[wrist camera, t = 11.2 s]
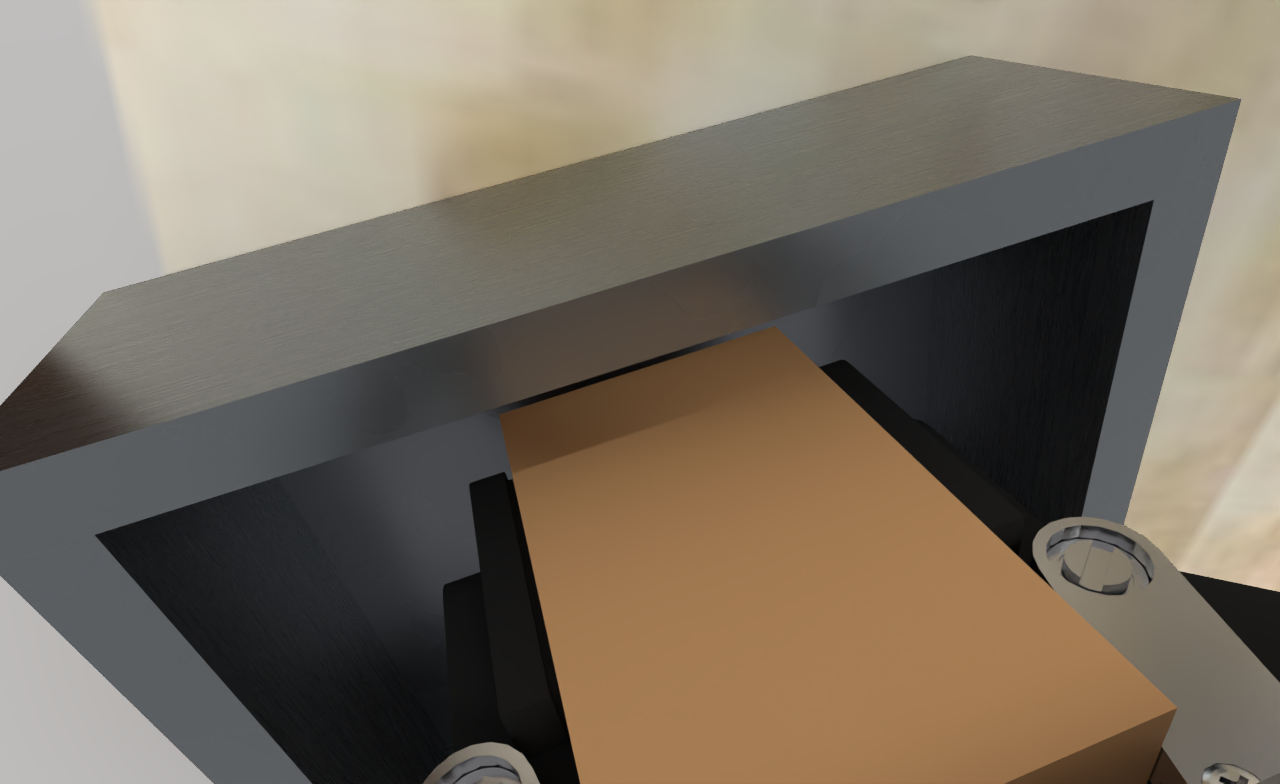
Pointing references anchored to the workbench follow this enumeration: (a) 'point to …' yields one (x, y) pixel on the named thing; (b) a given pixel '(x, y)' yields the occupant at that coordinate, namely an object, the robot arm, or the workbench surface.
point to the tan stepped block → (797, 595)
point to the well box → (576, 378)
